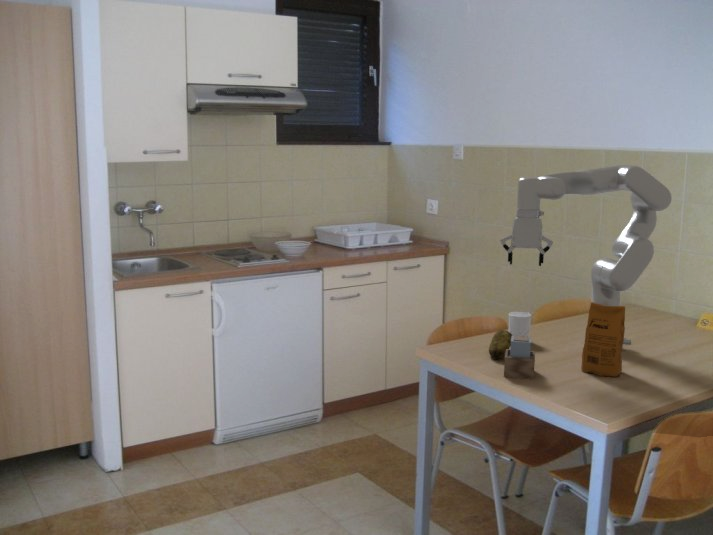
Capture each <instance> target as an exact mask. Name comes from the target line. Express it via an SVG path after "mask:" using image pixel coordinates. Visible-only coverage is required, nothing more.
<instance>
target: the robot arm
mask: <svg viewBox="0 0 713 535" xmlns="http://www.w3.org/2000/svg"><path fill="white" fill-rule="evenodd" d="M618 191H627V192H630V203H631V208H632V214H631V217H630V218H629V221H628V222H627V224H626V226H624V228H623V230H622V231H621V232H620V233H619V235H618V236H617V238H616V239H615V240H614V242H613V244H612V247H611V252H612V254H613V256H615V258H618V260H615V259H612V258H604V257H603V258H600V259H598V260H596V261H595V262H594V263H593V265H592V267H591V269H590V282H591V301H590V303H591V302H594V303H598V304H601V305H604V306H621V294H620V293H621V292H625V291H627V290H629V289H630V288H632V287H633V286H634V284H635V283H636V282H637V281H638V279H639V278H640V276H642V274H643V272H644V271H645V270H646V268H647V267H648V266H649V265H650V262H652V259H653V257H654V253H655V248H654V247H655V246H654V245H653V243H652V241H651V240H650V236H651V235H652V233H653V232H654V230H655V229H656V225H657V218H658V216H657V212H661V211H664V210H666V209H667V208H668V207H670V205H671V203H672V193H671V192H670V190H669V188H668V187H667V186H666V185H664V184H663V183H662V182H661V181H659V180H658V179H656V178H655V177H654V176H653V175H651V173H649V172H648V171H647V170H645V169H644V168H642V167H640V166H637V165H630V164H628V165H627V164H619V165H612V166H605V167H596V168H592V169H591V168H589V169H584V170H583V169H582V170H576V171H568V172H559V173H552V174H545V175H541V176H538V177H533V176H532V177H531V176H530V177H529V176H526V177H520V178H518V183H517V198H516V199H517V200H516V217H514V219H513V222H512V228H511V234H509V235H506V236H504V237H502V238H500V243H501V245H502V246H503V249H504V250H505V251H506V252H507V262H508V263H509V265H510V266H511V265H513V254H514V253H513V251H514V249H515V248H517V249H537V250H538V251H539V254H538V255H539V256H538V267H541V266H542V264H544V256H545V254H546V253H547V252H548V251H549V250H550V249H551V247H552V246H553V244H554V241H553V240H551V239H550V238H548V237H546V236H545V235H543V221H542V218H541V216H542V217H543V216H545V211H542V210H541V200H551V201H556V200H560V199H562V198H563V197H564V196H565V195H581V196H582V195H583V196H584V195H585V196H586V195H587V196H589V195H590V196H592V195H593V196H594V195H597V194H603V193H610V192H618ZM509 240H510V241H511V242H510V247H509V246H508V245H507V243H506V242H507V241H509ZM543 241H544V242H545V243H547V244H546V246H545V247H544V248H543V247H542V244H543ZM584 343H585V340H584V342H583V344H584ZM623 345H627V346H631V345H632V339H630V338H629V339H628V338H626V337H624V341H623Z"/></svg>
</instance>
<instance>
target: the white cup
mask: <svg viewBox="0 0 713 535" xmlns="http://www.w3.org/2000/svg"><path fill="white" fill-rule="evenodd" d="M531 319H532V314H530V313H529V312H524V311H510V312H509V313H508V332H510V333H511V334H512V336H520V337H529V335H530V330H531V329H530V327H531V321H532V320H531Z"/></svg>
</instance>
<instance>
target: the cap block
mask: <svg viewBox="0 0 713 535" xmlns="http://www.w3.org/2000/svg"><path fill="white" fill-rule="evenodd" d="M531 344H532V337H529V336H528V337H520V336H511V346H510V348H509V349H510V357H517V358H529V359H530V351H531V348H532V345H531Z"/></svg>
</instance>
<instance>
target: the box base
mask: <svg viewBox="0 0 713 535" xmlns="http://www.w3.org/2000/svg"><path fill="white" fill-rule="evenodd" d="M535 363H536V351H535V350H530V359H529V358H517V357H510V348H509V349H506V352H505V355H504V365H503V368H504V369H503V377H504V376H505V378H515V377H518V378H517V379H527V378H529V379H531V380H534V379H535V378H534V377H535V365H536V364H535Z"/></svg>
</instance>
